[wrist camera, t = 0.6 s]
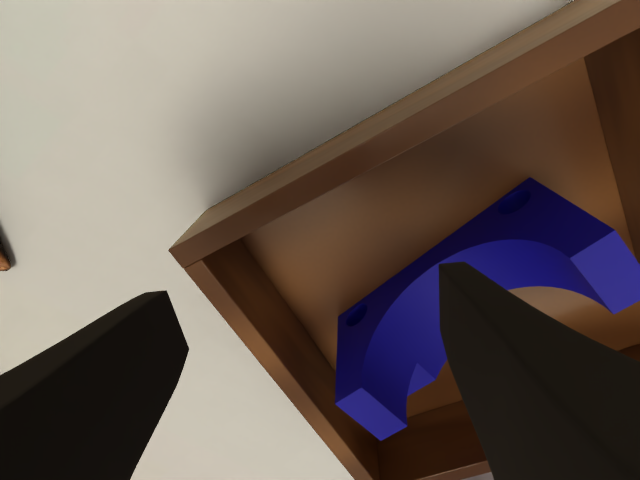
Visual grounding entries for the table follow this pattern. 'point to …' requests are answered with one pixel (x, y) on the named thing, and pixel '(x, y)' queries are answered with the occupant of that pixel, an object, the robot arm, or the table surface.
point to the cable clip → (494, 262)
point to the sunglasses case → (4, 260)
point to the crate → (429, 220)
